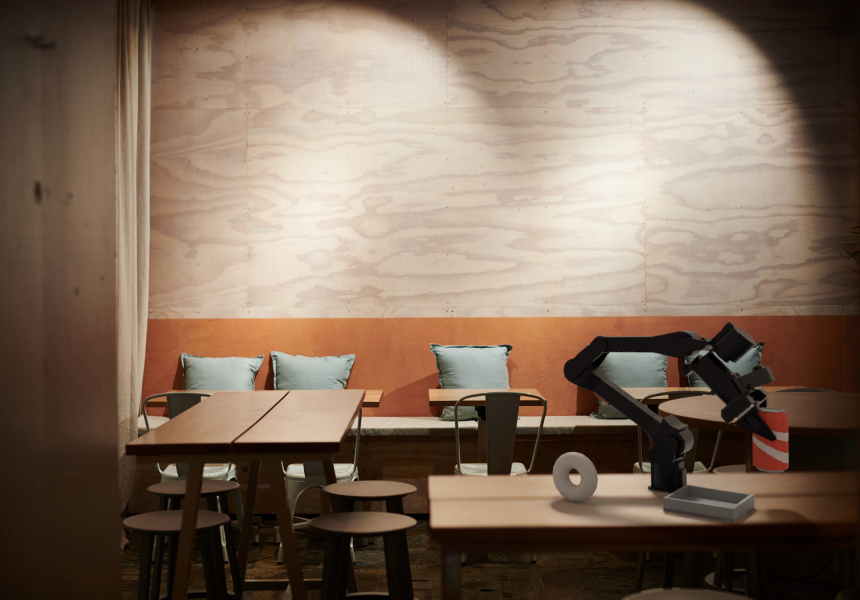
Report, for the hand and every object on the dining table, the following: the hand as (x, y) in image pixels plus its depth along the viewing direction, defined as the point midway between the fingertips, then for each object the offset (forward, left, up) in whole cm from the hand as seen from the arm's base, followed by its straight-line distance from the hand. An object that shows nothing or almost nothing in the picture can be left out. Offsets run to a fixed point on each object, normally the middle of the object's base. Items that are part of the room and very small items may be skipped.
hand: (778, 437), depth 136 cm
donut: (-33, -22, -13) cm, 42 cm away
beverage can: (-1, 0, -7) cm, 7 cm away
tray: (-10, -11, -13) cm, 20 cm away
